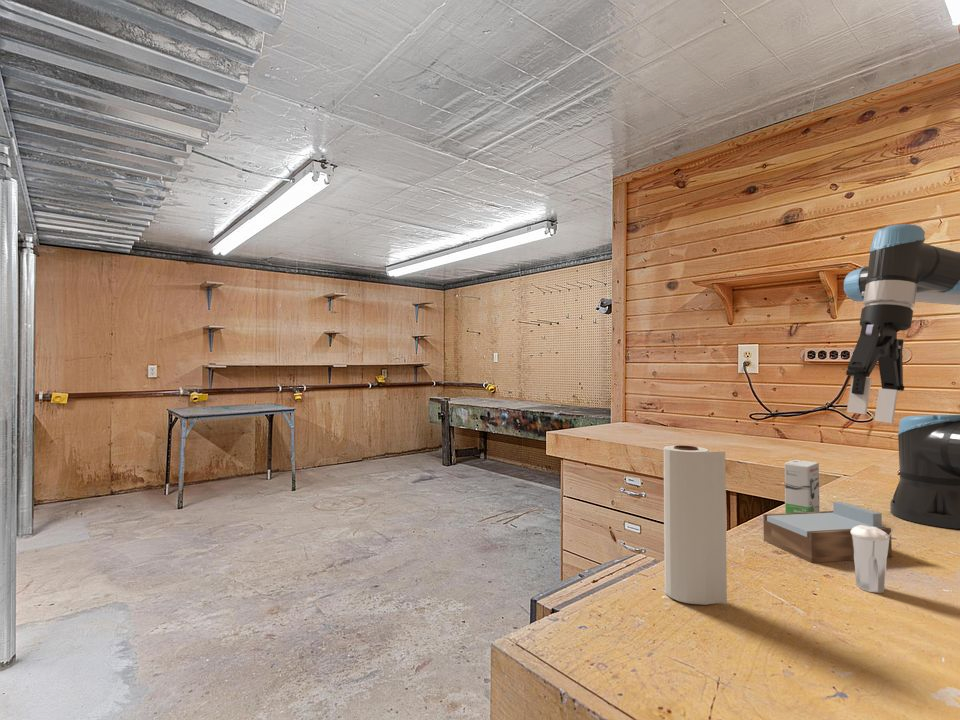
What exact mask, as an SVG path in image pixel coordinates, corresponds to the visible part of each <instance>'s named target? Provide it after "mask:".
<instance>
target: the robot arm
mask: <svg viewBox="0 0 960 720" xmlns="http://www.w3.org/2000/svg"><path fill="white" fill-rule="evenodd" d="M925 236H926V235H925V230H924V229H923V227H921V226H920V225H916V224H908V223H901V224H891V225H889V226H885V227H881V228H880V229H878V230H877V231H875V233H874V235H873V239H872V243H871V246H870V250H869V260H868V266H862V267H859V268H856V269H855V270H852V271H850V272H849V273H847V274H846V275H845V278H844V280H843V291H844V293H845V295H846V296H847V297H848V299H850V300H852V301H854V302H858V303H859V302H862V304H863V306H864V307H862V309H861V312H860V320H859V325H860V334H859V337H858V339H857V343H856V345H855V347H854V350H853V352H852V355H851V357H850V359H849V363H848V365H847V369H846V372H845V375H846V376H847V377H848V376H851V382H850V389H849V395H848V401H847V407H846V412H847V413H850V414H861V415H867V412H868V407H869V406H868V405H869V399H870V394H871V386H872V380H873V379H872V378H871V377H870V376H871V374H872V372H873V370H874V368H875V366H876V365H877V363H878V369H879V376H880V382H881V387H880V388H879V389H878V394H877V395H878V396H877V401H876V408H875V414H874V421H875V422H880V423H886V424H894V418H895V413H896V406H897V398H898V392H899V391H900V392H903V391H905V386H904V373H903V372H904V370H903V365H904V364H903V363H904V362H903V347H904V339H903V338H898V335H897V334H898V332H902V331H907V330H909V329H910V328H911V327H912V324H913V323H912V322H913V315H914V310H913V309H912V308H913V307H915V304H916V303H925V304H927V303H928V304H939V305H952V306H953V305H954V306H960V251H954V250H950V249H947V248H943V247H939V246H934V245H932V244H929V243H925V240H926V237H925ZM898 423H899V424H898V432H897V437H898V438H897V440H898V443H897V444H898V462H899V463H898V464H899V482H898V483H897V486H896V489H895V491H894V493H893V496H892V499H891V500H890V502H889V503H890V506H889V507H890V508H889V509H890V513H891V514H892V515H893V516H895V517H897V518H899V519H903V520H904V521H905V520H906V521H909V522H914V523H918V524H922V525H926V526H927V525H928V526H933V527H940V528H946V529H955V530H960V414H929V415H927V414H926V415H925V414H924V415H908V416H904V417H902V418H901V419H900V421H899V422H898Z"/></svg>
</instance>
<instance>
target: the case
mask: <svg viewBox="0 0 960 720" xmlns="http://www.w3.org/2000/svg"><path fill="white" fill-rule="evenodd" d="M832 512H833V510H828V511H819V512H802V513H785V512H784V513H783V512H782V513H765V514H763V515H762V516H763V517H762V519H763V541H764V542H765V543H768V544H770V545H772V546H775V547H778V548H779V549H781V550H783V551H784V552H785V551H786V552H788V553H789V554H792V555H794V556H796V557H798V558H800V559H802V560H805V561H807V562H809V563H812V564H814V563H826V562H827V563H829V562H841V561H843V562H845V561H854V554H853V547H852V539H851V530H837V531H819V532H809V537H805V536H803V535H800V534H798V533H795V532H793V531H790V530H788V529H785V528H783V527H781V526H778V525H776V524H773V523H771V522H768V521H767V516H771V515H792V514H812V513H832ZM878 529H880V530H882V531H884V532H886V533H887V534H888V535H889V534H890V532H891V531H892V528H890V527H886V528H878ZM892 548H893V547H892V534H891V535H890V537H889V547H888V555H887V559H888V558H892V557H893V555H892V552H893V550H892Z"/></svg>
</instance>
